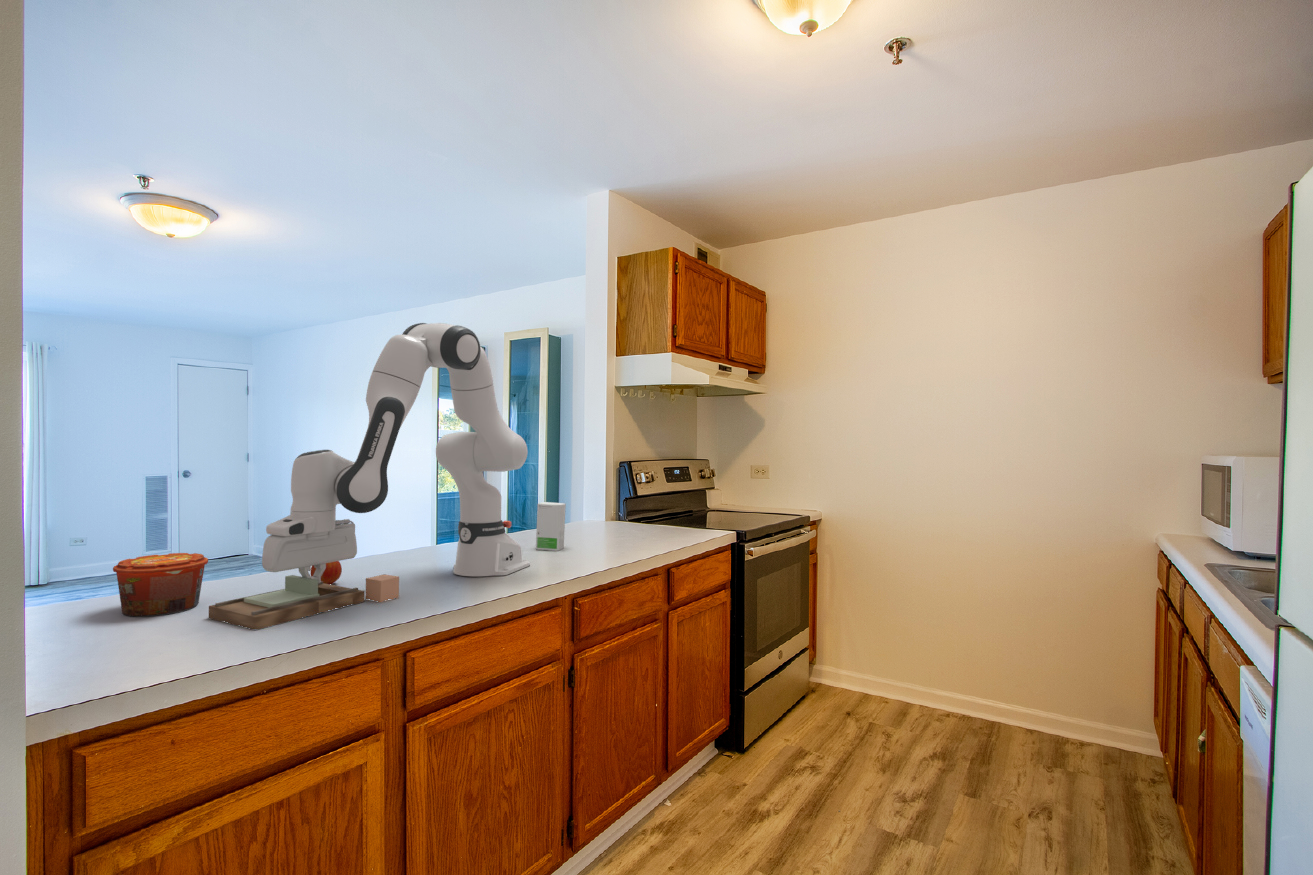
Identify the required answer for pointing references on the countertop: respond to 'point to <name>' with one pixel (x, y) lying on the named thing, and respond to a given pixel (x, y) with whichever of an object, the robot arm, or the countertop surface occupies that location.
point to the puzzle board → (284, 607)
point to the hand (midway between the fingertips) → (312, 585)
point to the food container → (160, 583)
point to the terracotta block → (382, 587)
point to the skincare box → (550, 526)
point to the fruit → (330, 572)
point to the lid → (287, 592)
